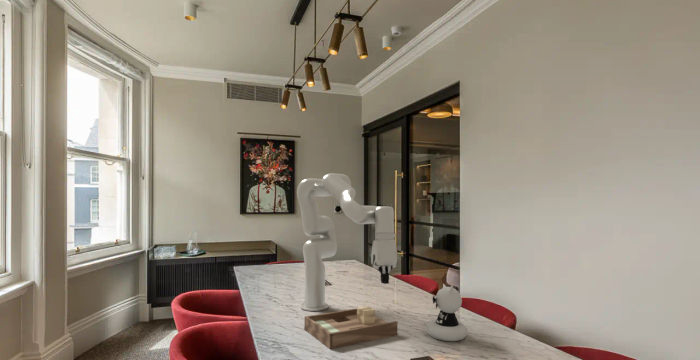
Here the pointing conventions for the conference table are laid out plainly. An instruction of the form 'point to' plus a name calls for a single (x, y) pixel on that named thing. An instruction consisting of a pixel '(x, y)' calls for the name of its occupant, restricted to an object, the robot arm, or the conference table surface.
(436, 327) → the decorative figurine
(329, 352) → the conference table surface
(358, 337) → the box
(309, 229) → the robot arm
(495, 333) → the conference table surface
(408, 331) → the conference table surface
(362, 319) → the maple block
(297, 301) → the conference table surface
